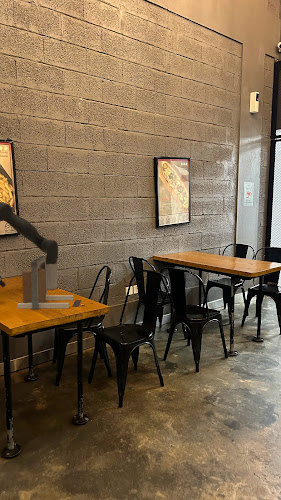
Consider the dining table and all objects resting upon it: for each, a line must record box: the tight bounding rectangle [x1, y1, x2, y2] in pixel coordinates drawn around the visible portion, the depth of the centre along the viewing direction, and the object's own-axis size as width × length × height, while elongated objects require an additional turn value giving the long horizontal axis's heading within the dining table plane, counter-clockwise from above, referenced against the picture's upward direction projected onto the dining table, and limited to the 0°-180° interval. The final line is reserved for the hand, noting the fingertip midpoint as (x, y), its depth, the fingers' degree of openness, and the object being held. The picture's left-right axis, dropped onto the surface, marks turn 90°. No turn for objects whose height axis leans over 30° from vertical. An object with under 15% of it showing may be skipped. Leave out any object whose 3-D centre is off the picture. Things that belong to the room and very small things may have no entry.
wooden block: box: [21, 267, 47, 303], centre depth 222 cm, size 10×10×20 cm
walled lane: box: [17, 294, 74, 309], centre depth 224 cm, size 20×28×2 cm
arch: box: [30, 255, 48, 310], centre depth 222 cm, size 24×3×26 cm, turn 2°
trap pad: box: [71, 299, 82, 308], centre depth 224 cm, size 14×4×1 cm, turn 2°
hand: (4, 286), depth 222 cm, fingers closed
